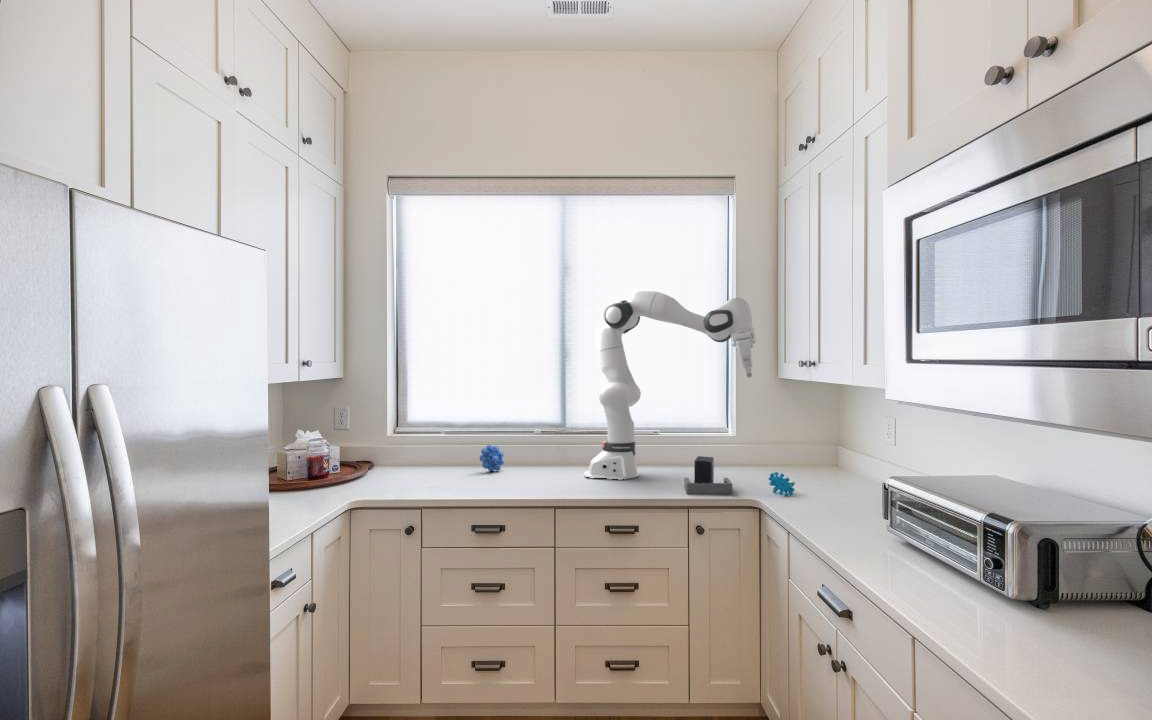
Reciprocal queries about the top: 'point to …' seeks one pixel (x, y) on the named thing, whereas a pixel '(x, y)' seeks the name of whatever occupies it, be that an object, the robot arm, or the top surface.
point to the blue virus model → (781, 484)
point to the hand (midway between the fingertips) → (749, 375)
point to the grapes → (492, 458)
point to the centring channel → (708, 488)
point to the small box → (704, 470)
